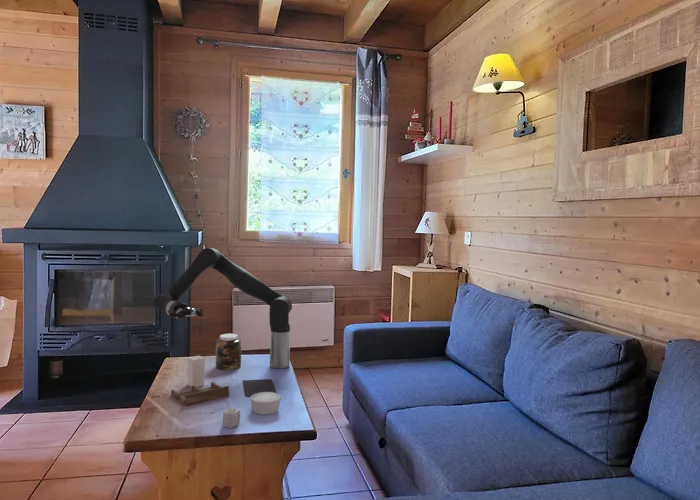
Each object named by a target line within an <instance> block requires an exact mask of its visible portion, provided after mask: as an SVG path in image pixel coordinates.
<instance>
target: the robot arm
mask: <svg viewBox="0 0 700 500" xmlns="http://www.w3.org/2000/svg"><path fill="white" fill-rule="evenodd" d="M208 268H212V269H213V270H215V271H217V272H219V273H220V274H222V275H223V276H224V277H225V278H226V279H227V280H228V281H229V282H230V284H232V285H233V286H234V287H235V288H236V289H238V290H239V291H241V292H243V293H244V294H246V295H248V296H250V297H253V298H256V299H257V300H261V301H262V302H263V303H266V304H267V305H268V306H269V314H268V315H269V328H270V340H269V341H270V345H269V346H270V347H269V349H270V351H269V367H270V368H273V369H286V368H290V365H291V364H290V362H291V359H290V357H291V347H290V346H291V345H290V343H291V342H290V341H291V325H290V322H289V321H290V320H289V319H290V317H289V316H290V315H289V314H290V313H291V311H292V310H293V305H292V301H291V300H290V298H289V297H286V296H285V295H283V294H281V293H279V292H278V291H275V290H274V289H272V288H270V286H269V285H267V284H266V283H265V282H263V281H262V280H260V279H259V278H257V277H256V276H255V275H253V273H250V272H249V271H248V270H245V269H244V268H243V267H241V266H239V265H237V264H235V263H234V262H232V261H231V260H229V258H227V257H226V256H225V255H223V254H222V253H221V252H220V251H219V250H218V249H216V248H213V247H206V248H203V249H201V250H200V252H199V253H198V254H197V256H196V257H195V259H193V262H192V263H190V265H189V266H188V268H187V269H185V271H184V272H183V273H182V274H181V275H180V276H179V277H178V278H177V279H176V280H175V281H174V283H172V284H171V285H170V286H169V288H168V289H167V292H168V294H169V296H170V297H171V298H169V297H168V296H167V295H165V294H162V293H159V294H156V295H155V296H153V298H152V300H151V304H152V306H153V307H154V308H155V309H157V311H160V313H163V314H164V315H167V317H168V318H170V319H174V318H175V319H177V320H183V319H185V318H186V317H195V316H197V317H200V318H202V317H203V314H204V313H203V312H204V311H203V308H201V307H200V308H199V307H194V308H192V307H189V306H188V305H187V303H184V302H182V301H180V299H181V298H182V296H183V295H185V293H186V292H187V291H189V289H190V288H191V287H192V286H193V284H194V282H196V279H197V278H198V277H199V276H200V275H201V274H202V273H203V272H204V271H205V270H207V269H208Z"/></svg>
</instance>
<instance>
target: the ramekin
mask: <svg viewBox="0 0 700 500" xmlns="http://www.w3.org/2000/svg"><path fill="white" fill-rule="evenodd" d="M281 399H282V396H281V394H279V393H277V392H276V393H273V392H261V393H256V394H254V395H252V396H251V397H250V402H251V403H250V404H251V409H252V411H253V413H255V414H256V415H259V416H263V415H264V416H265V415H266V416H269V415H273V414H275V413H277V412H278V411H279V408H280V403H281Z"/></svg>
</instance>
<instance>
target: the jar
mask: <svg viewBox="0 0 700 500" xmlns="http://www.w3.org/2000/svg"><path fill="white" fill-rule="evenodd" d="M238 336H239V335H238V334H236V333H224V334H220V335H219V338H218V339H216V342H215V368H216V369H217V370H219V371H234V370H237V369H239V368H241V367H242V340H241V338H239V337H238Z"/></svg>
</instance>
